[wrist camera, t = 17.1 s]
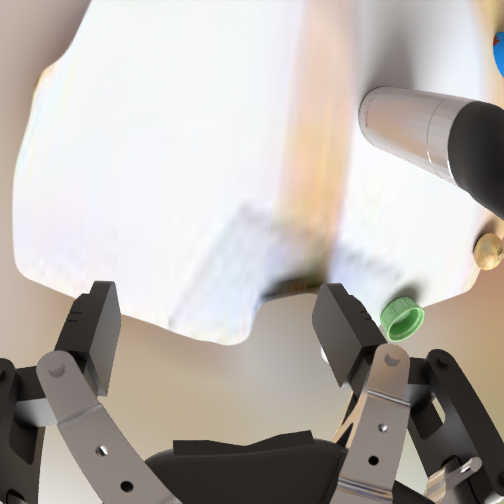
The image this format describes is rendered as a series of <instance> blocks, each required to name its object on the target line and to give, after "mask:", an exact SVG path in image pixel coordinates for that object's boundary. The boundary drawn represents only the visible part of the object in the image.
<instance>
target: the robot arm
mask: <svg viewBox="0 0 504 504" xmlns="http://www.w3.org/2000/svg"><path fill="white" fill-rule="evenodd" d="M359 122H360V127H361V130H362V133H363V135H364V136H365V138H366V139H367V140H368V142H369V143H371V144H372V145H373V146H375V147H377V148H379V149H382V150H384V151H386V152H388V153H391V154H393V155H395V156H397V157H399V158H402V159H404V160H406V161H408V162H410V163H412V164H415V165H417V166H419V167H421V168H423V169H425V170H427V171H429V172H431V173H433V174H435V175H437V176H439V177H441V178H443V179H445V180H447V181H449V182H450V183H452V184H454V185H456V186H458V187H460V188H461V189H463V190H465V191H467V192H468V193H469V194H470V195H471V196H472V197H473V198H474V199H475V200H476V201H477V202H478V203H480V204H481V205H482V206H484V207H485V208H487V209H488V210H490V211H491V212H493V213H494V214H495V215H497V216H498V217H500V218H501V219H502V220H504V110H503V109H502V108H500V107H498V106H496V105H493V104H490V103H486V102H481V101H477V100H473V99H468V98H463V97H457V96H452V95H446V94H440V93H434V92H428V91H420V90H413V89H404V88H395V87H378V88H376V89H374V90H372V91H371V92H370V93H368V94H367V96H366V97H365V98H364V100H363V102H362V104H361V107H360V111H359ZM312 324H313V327H314V330H315V332H316V334H317V337H318V339H319V341H320V343H321V346H322V348H323V350H324V352H325V355H326V357H327V359H328V362H329V364H330V366H331V368H332V371H333V373H334V375H335V378H336V380H337V382H338V385H339V387H340V388H347V387H352V390H353V392H352V393H351V395H350V398H349V401H348V404H347V406H346V409H345V412H344V414H343V417H342V419H341V422H340V425H339V427H338V429H337V432H336V434H335V436H334V437H333V439H332V441H331V442H330V441H326V440H322V439H316V438H313V436H312V433H311V431H310V430H308V431H302V432H296V433H288V434H280V435H277V436H274V437H271V438H269V439H266V440H263V441H260V442H257V443H254V444H251V445H247V446H240V445H233V444H227V443H221V442H215V441H210V440H189V441H188V440H173V449H169V450H165V451H162V452H159V453H157V454H155V455H153V456H151V457H149V458H148V459H146V460H145V461H143V460H142V459H141V457H140V456H139V455H138V454H137V452H136V451H135V450H134V448H133V447H132V446H131V445H130V443H129V442H128V441H127V439H126V438H125V437H124V435H123V434H122V432H121V431H120V430H119V428H118V427H117V425H116V424H115V423H114V421H113V420H112V418H111V417H110V415H109V414H108V412H107V411H106V409H105V408H104V407H103V405H102V404H101V403H99V401H98V400H97V396H107V393H108V387H109V381H110V376H111V370H112V365H113V360H114V355H115V350H116V346H117V341H118V337H119V332H120V327H121V313H120V308H119V303H118V297H117V291H116V286H115V283H114V281H95V282H94V283H93V286H92V288H91V290H90V293H89V294H84V293H82V294H81V295H80V296H79V297H78V298H77V299H76V300H75V301H74V302H73V305H72V307H71V309H70V313H69V314H68V316H67V319H66V322H65V323H64V326H63V329H62V331H61V333H60V336H59V339H58V341H57V344H56V346H55V349H54V351H52V352H49V353H47V354H45V355H44V356H43V357H42V358H41V359H40V360H39V362H38V364H37V366H33V367H25V368H19V369H16V368H15V367H14V365H13V363H12V362H11V361H10V360H7V359H4V358H0V504H38V489H39V475H40V464H41V456H42V448H43V440H44V433H45V427H46V426H50V425H57V426H58V429H59V431H60V433H61V435H62V437H63V439H64V440H65V442H66V444H67V446H68V448H69V450H70V451H71V453H72V455H73V457H74V459H75V460H76V462H77V464H78V465H79V467H80V469H81V470H82V472H83V473H84V475H85V476H86V478H87V479H88V481H89V483H90V484H91V486H92V487H93V489H94V490H95V492H96V493H97V495H98V496H99V497H100V499H101V500H102V502H103V503H102V504H496V503H498V502H500V501H501V500H503V499H504V443H503V441H502V439H501V437H500V435H499V433H498V431H497V430H496V428H495V426H494V424H493V422H492V421H491V418H490V417H489V415H488V413H487V412H486V410H485V408H484V406H483V404H482V403H481V401H480V399H479V398H478V396H477V394H476V393H475V391H474V389H473V388H472V386H471V384H470V383H469V381H468V380H467V378H466V376H465V375H464V373H463V372H462V370H461V368H460V367H459V366H458V364H457V362H456V361H455V359H454V358H453V357H452V356H451V355H450V354H449V353H448V352H446V351H444V350H440V349H434V350H431V351H430V352H429V354H428V355H427V357H426V358H425V359H423V358H413V357H409V355H408V354H407V353H406V351H405V350H404V349H402V348H401V347H399V346H397V345H394V344H388V343H387V341H386V339H385V338H384V336H383V335H382V333H381V332H380V330H379V328H378V327H377V325H376V324H375V322H374V321H373V320H372V318H371V316H370V315H369V313H367V310H366V309H365V307H364V306H363V304H362V303H361V302H360V301H359V300H358V299H357V298H355V297H354V296H353V295H349V294H348V293H347V291H346V290H345V288H344V287H343V285H342V284H341V283H327V284H322V285H321V287H320V290H319V293H318V297H317V300H316V303H315V307H314V310H313V314H312ZM435 397H437V399H438V401H439V403H440V405H441V406H442V409H443V411H444V413H445V422H444V424H443V423H442V421H441V419H440V417H439V415H438V413H437V411H436V409H435V407H434V405H433V403H432V401H433V400H434V399H435ZM406 429H408V431H409V433H410V436H411V438H412V440H413V443H414V445H415V448H416V450H417V452H418V455H419V457H420V460H421V462H422V464H423V467H424V470H425V472H426V475H427V477H428V482H427V487H426V490H425V491H424V493H423V495H421V494H419V493H418V492H416V491H414V490H412V489H410V488H409V487H407V486H405V485H403V484H402V483H400V482H398V481H396V480H395V477H396V473H397V469H398V465H399V461H400V457H401V453H402V449H403V444H404V440H405V435H406Z"/></svg>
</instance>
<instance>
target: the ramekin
mask: <svg viewBox="0 0 504 504" xmlns="http://www.w3.org/2000/svg"><path fill="white" fill-rule="evenodd" d="M424 316H425V314H424V310H423V309H422V308H421V307H419V306H418V305H417V304H416V303H415V302H414V301H413V300H412V299H411V298H409V297H400V298H398V299H396V300H394V301H392V302H391V303H390V304H389V305H388V306H387V307H386V308H385V309H384V311H383V313H382V315H381V324H382V326H383V328H384V330H385V332H386V334H387V338H388V339H389V340H390V341H393V342H398V341H401V340H404V339H406V338H408V337H409V336H411V335H412V334H413V333H414V332H415V331H416V330H417V329H418V328H419V327H420V326H421V324H422V322H423V320H424Z"/></svg>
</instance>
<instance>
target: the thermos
mask: <svg viewBox="0 0 504 504" xmlns="http://www.w3.org/2000/svg"><path fill="white" fill-rule="evenodd" d="M493 51H494V57H495V62H496V64H497V67H498V69H499V71H500V73H501V74H502V76H503V77H504V32H499V33H497V34H496V36H495V37H494V42H493Z"/></svg>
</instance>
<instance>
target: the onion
mask: <svg viewBox="0 0 504 504" xmlns="http://www.w3.org/2000/svg"><path fill="white" fill-rule="evenodd" d="M473 255H474V259H475V262H476V264H477V265H478V267H480V268H481V269H483V270H490V269H492V268H494V267H496V266H497V265H498V264H499V263H500V261H501V260H502V259H504V247H503V243H502V241H501V239H500V238H499V237H498V236H497V235H495V234H493V233H488V234H485V235H483V236H482V237H481V238H480V239H479V240H478V242H477V244H476V246H475V248H474V252H473Z"/></svg>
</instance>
